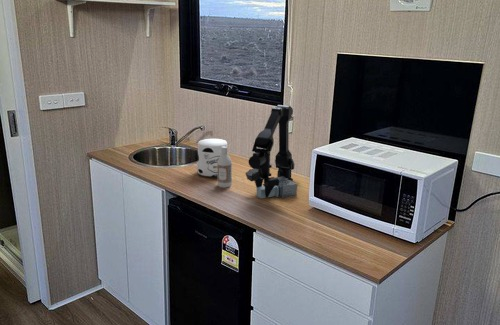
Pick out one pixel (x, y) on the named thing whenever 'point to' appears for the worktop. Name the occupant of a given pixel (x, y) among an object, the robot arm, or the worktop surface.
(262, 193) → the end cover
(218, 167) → the bath foam
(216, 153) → the milk container
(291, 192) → the block
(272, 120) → the robot arm
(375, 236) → the worktop surface
